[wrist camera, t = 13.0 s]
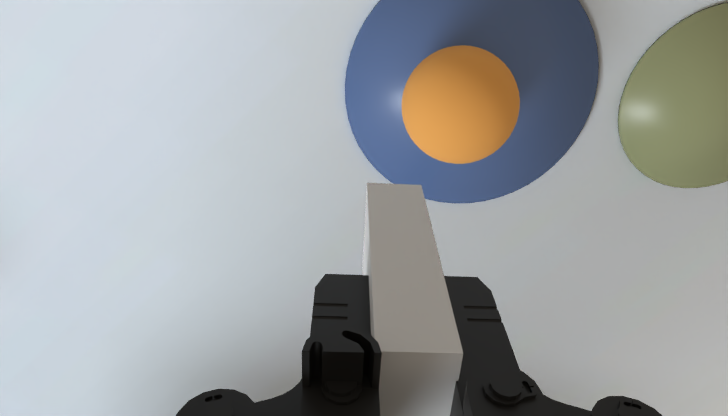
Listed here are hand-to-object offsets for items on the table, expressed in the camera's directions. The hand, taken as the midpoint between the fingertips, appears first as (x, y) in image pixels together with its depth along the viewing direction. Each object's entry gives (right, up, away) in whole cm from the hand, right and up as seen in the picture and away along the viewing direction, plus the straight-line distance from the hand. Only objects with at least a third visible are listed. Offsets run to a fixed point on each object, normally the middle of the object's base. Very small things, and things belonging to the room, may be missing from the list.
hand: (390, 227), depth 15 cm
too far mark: (+18, +6, +13) cm, 23 cm away
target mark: (+5, +7, +13) cm, 15 cm away
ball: (+4, +5, +10) cm, 12 cm away
